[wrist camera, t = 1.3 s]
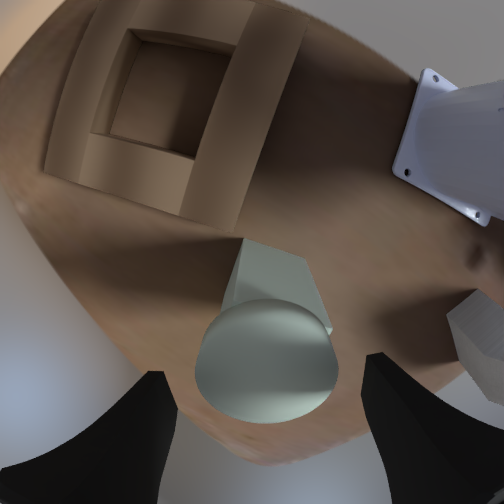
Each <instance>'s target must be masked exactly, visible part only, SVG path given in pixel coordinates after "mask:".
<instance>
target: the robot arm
mask: <svg viewBox="0 0 504 504" xmlns="http://www.w3.org/2000/svg"><path fill="white" fill-rule="evenodd" d="M433 77H435V79H436V82H435V81H434V80H433ZM405 169H408V175H407V176H405V174H404V171H405ZM392 171H393V173H394V175H396V176H397V177H399V178H401V179H403V180H405V181H407V182H409V183H411V184H412V185H414V186H416V187H418V188H420V189H422V190H423V191H425V192H427V193H429V194H431V195H432V196H434V197H436V198H437V199H439V200H441V201H443V202H444V203H446V204H448V205H449V206H451V207H453V208H454V209H456V210H458V211H459V212H461V213H462V214H464V215H466V216H467V217H469V218H470V219H472V220H473V221H475V222H476V223H478V224H479V225H481V226H484V227H485V226H487V225H488V223H489V220H490V217H491V216H493V217H496V218H498V219H501V220H503V221H504V80H503V81H497V82H492V83H486V84H481V85H476V86H471V87H466V88H462V89H459V88H457V87H456V86H454V85H453V84H452V83H451V82H449V81H448V80H446V79H445V78H443V77H442V76H441V75H439V74H438V73H436V72H435V71H433V70H432V69H430V68H425V69H423V70H422V72H421V75H420V79H419V83H418V87H417V90H416V94H415V97H414V101H413V104H412V108H411V111H410V115H409V118H408V121H407V124H406V127H405V131H404V134H403V137H402V140H401V143H400V146H399V149H398V152H397V155H396V157H395V160H394V163H393V166H392ZM476 212H477V216H475V215H476ZM361 398H362V402H363V407H364V411H365V415H366V418H367V421H368V424H369V426H370V429H371V432H372V434H373V437H374V439H375V442H376V445H377V448H378V450H379V453H380V455H381V458H382V461H383V464H384V467H385V470H386V474H387V478H388V483H389V488H390V492H391V499H392V504H504V430H502V429H499V428H496V427H493V426H491V425H488V424H486V423H484V422H481V421H479V420H477V419H475V418H472V417H471V416H468V415H466V414H465V413H463V412H461V411H459V410H458V409H456V408H454V407H452V406H451V405H449V404H447V403H446V402H444V401H443V400H441V399H440V398H438V397H437V396H436V395H434V394H433V393H431V392H430V391H429V390H427V389H426V388H425V387H423V386H422V385H421V384H420V383H418V382H417V381H416V380H415V379H413V378H412V377H411V376H410V375H408V374H407V373H406V372H405V371H404V370H403V369H401V368H400V367H399V366H398V365H397V364H396V363H395V362H393V361H392V360H391V359H390V358H389V357H388V356H386V355H385V354H384V353H383V352H380V353H375V354H370V355H367V356H366V363H365V370H364V377H363V384H362V390H361ZM177 411H178V408H177V405H176V403H175V400H174V398H173V395H172V393H171V390H170V387H169V385H168V382H167V380H166V377H165V374H164V371H148V372H147V373H146V374H145V375H144V376H143V377H142V378H141V379H140V380H139V381H138V382H137V383H136V384H135V385H134V386H133V387H132V388H131V389H130V390H129V391H128V392H127V393H126V394H125V395H124V396H123V397H122V398H121V399H120V400H118V402H116V404H114V406H112V407H111V408H110V409H109V410H108V411H107V412H105V413H104V414H103V415H102V416H101V417H100V418H99V419H97V420H96V421H95V422H94V423H93V424H92V425H90V426H89V427H88V428H86V429H85V430H84V431H82V432H81V433H79V434H78V435H76V436H75V437H74V438H72V439H70V440H69V441H67V442H66V443H64V444H62V445H60V446H58V447H57V448H55V449H53V450H51V451H49V452H47V453H45V454H43V455H41V456H39V457H36V458H34V459H31V460H28V461H26V462H23V463H19V464H16V465H12V466H9V467H5V468H2V469H1V471H0V503H2V504H157V500H158V492H159V486H160V482H161V477H162V474H163V470H164V467H165V463H166V460H167V456H168V453H169V449H170V445H171V442H172V439H173V435H174V432H175V426H176V419H177Z"/></svg>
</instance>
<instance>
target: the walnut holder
mask: <svg viewBox="0 0 504 504" xmlns="http://www.w3.org/2000/svg"><path fill="white" fill-rule="evenodd" d="M309 22H310V18H307V17H304V16H301V15H298V14H295V13H292V12H289V11H285V10H282V9H279V8H275V7H271V6H268V5H264V4H260V3H256V2H252V1H247V0H101V1H100V2H99V4H98V6H97V8H96V10H95V12H94V14H93V16H92V18H91V20H90V22H89V25H88V27H87V29H86V31H85V33H84V36H83V38H82V40H81V43H80V45H79V47H78V50H77V52H76V55H75V57H74V60H73V63H72V65H71V68H70V71H69V74H68V77H67V80H66V82H65V86H64V89H63V92H62V95H61V98H60V102H59V105H58V109H57V112H56V116H55V120H54V124H53V128H52V132H51V136H50V141H49V145H48V150H47V155H46V160H45V166H44V172H43V173H46V174H49V175H52V176H56V177H59V178H62V179H65V180H68V181H72V182H75V183H78V184H81V185H84V186H87V187H91V188H94V189H97V190H100V191H103V192H106V193H109V194H113V195H116V196H119V197H122V198H125V199H128V200H131V201H134V202H137V203H141V204H144V205H147V206H150V207H153V208H156V209H159V210H162V211H165V212H168V213H171V214H174V215H177V216H180V217H184V218H187V219H190V220H193V221H196V222H199V223H202V224H205V225H208V226H211V227H214V228H217V229H220V230H223V231H226V232H229V233H233V230H234V227H235V224H236V222H237V219H238V216H239V213H240V210H241V207H242V204H243V201H244V198H245V195H246V192H247V189H248V187H249V184H250V181H251V178H252V175H253V172H254V169H255V167H256V164H257V161H258V158H259V155H260V152H261V150H262V147H263V144H264V141H265V138H266V136H267V133H268V130H269V127H270V125H271V122H272V119H273V116H274V114H275V111H276V108H277V105H278V103H279V100H280V97H281V95H282V92H283V89H284V87H285V84H286V81H287V79H288V76H289V73H290V71H291V68H292V65H293V63H294V60H295V58H296V55H297V52H298V50H299V47H300V45H301V42H302V39H303V37H304V34H305V32H306V29H307V27H308V24H309ZM142 41H148V42H156V43H163V44H170V45H176V46H182V47H187V48H192V49H197V50H202V51H207V52H212V53H216V54H220V55H224V56H228V57H232V58H231V61H230V63H229V66H228V68H227V71H226V73H225V76H224V78H223V81H222V83H221V86H220V89H219V91H218V94H217V97H216V99H215V102H214V105H213V108H212V110H211V113H210V116H209V119H208V122H207V125H206V127H205V130H204V133H203V136H202V139H201V142H200V145H199V148H198V151H197V155H196V157H194V156H190V155H187V154H183V153H180V152H176V151H173V150H169V149H166V148H162V147H158V146H155V145H151V144H147V143H143V142H140V141H136V140H132V139H128V138H124V137H120V136H116V135H111V134H110V130H111V127H112V123H113V120H114V117H115V114H116V110H117V107H118V104H119V101H120V98H121V95H122V92H123V89H124V86H125V84H126V81H127V78H128V75H129V73H130V70H131V68H132V65H133V62H134V60H135V57H136V55H137V53H138V50H139V48H140V45H141V43H142Z"/></svg>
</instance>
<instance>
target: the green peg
mask: <svg viewBox="0 0 504 504" xmlns="http://www.w3.org/2000/svg"><path fill="white" fill-rule="evenodd" d="M332 330H333V328H332V326H331V323H330V320H329V318H328V315H327V312H326V310H325V307H324V305H323V302H322V300H321V297H320V295H319V292H318V290H317V287H316V285H315V282H314V280H313V277H312V275H311V272H310V270H309V267H308V265H307V262H306V260H305V258H302V257H299V256H296V255H293V254H290V253H287V252H285V251H282V250H279V249H276V248H273V247H270V246H267V245H264V244H261V243H258V242H255V241H252V240H249V239H246V238H244V239H243V242H242V245H241V248H240V251H239V253H238V256H237V259H236V262H235V265H234V268H233V271H232V274H231V276H230V279H229V282H228V285H227V288H226V291H225V294H224V298H223V303H222V307H221V311H220V315H219V316H217V317H216V318H215V319H214V320H213V321H212V323H211V324H210V325H209V327H208V328H207V330H206V332H205V334H204V337H203V340H202V344H201V347H200V351H199V354H198V358H197V362H196V366H195V378H196V383H197V386H198V388H199V390H200V392H201V394H202V395H203V397H204V398H205V399H206V400H207V401H208V402H209V403H210V404H211V405H212V406H213V407H214V408H216V409H217V410H219V411H220V412H222V413H224V414H226V415H228V416H230V417H233V418H235V419H238V420H242V421H247V422H252V423H278V422H283V421H288V420H292V419H295V418H298V417H300V416H302V415H305V414H307V413H309V412H310V411H312V410H314V409H315V408H316V407H318V406H319V405H320V404H321V403H322V402H323V401H324V400H326V398H327V397H328V396H329V395H330V393H331V392H332V390H333V388H334V386H335V384H336V381H337V377H338V361H337V358H336V355H335V352H334V349H333V346H332V343H331V340H330V337H329V335H330V333H331V331H332Z"/></svg>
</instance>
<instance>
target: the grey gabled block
mask: <svg viewBox="0 0 504 504" xmlns="http://www.w3.org/2000/svg"><path fill="white" fill-rule="evenodd" d="M446 316H447V319H448V322H449V325H450V329H451V332H452V336H453V339H454V343H455V347H456V351H457V355H458V359H459V362H460V363H461V364H462V365H463V367H464V368H465V369H466V371H467V372H468V373H469V375H470V376H471V377H472V378H473V380H474V381H475V383H476V384H477V385H478V387H479V388H480V389H481V391H482V392H483V393H484V395H485V396H486V398H487V399H488V400H489V401H492V402H494V403H497V404H499V405H502V406H504V309H503V308H502V307H500V306H499V305H498V304H497V303H496V302H494V301H493V300H492V299H491V298H489V297H488V296H487V295H486V294H484V293H483V292H482V291H480V290H479V289H477V290H476V291H474V292H473V293H472V294H471V295H470V296H469V297H467V298H466V299H465V300H464V301H462V302H461V303H460V304H459V305H457V306H456V307H455V308H454V309H452V310H451V311H450V312H448V313H447V314H446Z"/></svg>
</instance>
